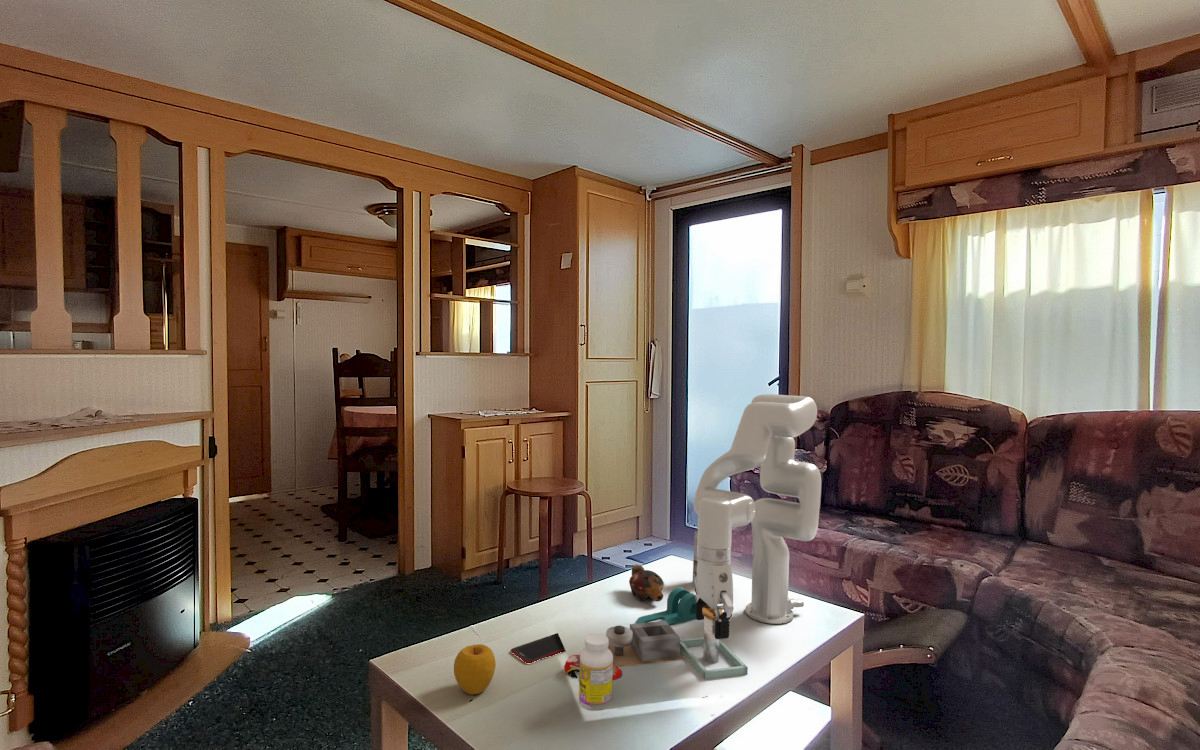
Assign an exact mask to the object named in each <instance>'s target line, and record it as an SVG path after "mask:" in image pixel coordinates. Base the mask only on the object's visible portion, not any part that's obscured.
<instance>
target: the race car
mask: <svg viewBox="0 0 1200 750" xmlns="http://www.w3.org/2000/svg"><path fill="white" fill-rule="evenodd" d="M563 670H564V673H565V674H566V675H567V676H570V677H571V678H574V679H579V678H578V676H577V673H580V654H573V655H570V656H569V657H568V658H567V659H566V660H565V664H564V666H563ZM576 672H577V673H576ZM623 673H624V672H623V671H622V668H620V667H616V666H614V665H613V679H612V681H616V680H618V679H621V678H622V677H623V675H624V674H623Z"/></svg>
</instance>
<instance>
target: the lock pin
mask: <svg viewBox="0 0 1200 750" xmlns="http://www.w3.org/2000/svg"><path fill="white" fill-rule="evenodd" d="M719 612H720V615H721V614H722V613H723V610H719ZM702 614H703V615H704V620H703V637H704V641H703V645H702V647H703V649H702V651H703V652H702V659H703V660H702V661H703V662H705V663H707V664H712V665H713V664H717V663H719V662H720V649H719V639H716V638H715V620H717V618H716V614H715V610H714V609H712V608H711V607H710V606H709V605H705V606H703V608H702Z"/></svg>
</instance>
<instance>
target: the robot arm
mask: <svg viewBox="0 0 1200 750" xmlns="http://www.w3.org/2000/svg"><path fill="white" fill-rule="evenodd" d="M817 417H818V407H817V404H816V402H815V400H814V399H813V398H811V397H809V396H804V395H789V394H787V395H786V394H773V393H767V394H758V395H756V396H754V397H753V398H752V400H751V403H749V404H747V406H746V407H745V408H744V410H743V412H742V416H741V418H740V421H739V424H738V426H737V430H736V432H735V435H734V438H733V441H732V445H730V446H731V447H730V449H729V450H728V451H726V452H724V453H723V454H722V455H720V456H719V457H718V458H716V459H715V460H714V461H713V462H712V463H711V464H710V465H708V467H707V468H706V469H705V470H704V471H703V473H702V475H701V477H700V480H699V483H698V486H697V489H696V492H695V496H694V499H693V509H694V512H695V514H696V516H697V531H698V540H697V559H698V563H697V574H696V578H695V579H694V581H695V583H694V586H695V589H694V592H695V595H696V597H695V599H696V619H695V620H697V621H704V615H703V614H702V608H703V606H705V605H709V606H710V607H711V608H712V609H714V610H715V614H716V618H717V620H715V638H716V639H720V640H724V639H728V638H729V637H730V622H731V619H732V618H733V617H732V616H733V612H734V581H733V580H734V579H733V578H734V577H733V571H732V570H733V569H732V564H731V562H732V543H733V542H732V537H733V536H732V533H733V528H739V527H745V526H747V525H749V524H750V523H751V531H752V545H753V546H752V575H751V601H750V602H749V603H747V604H746V605H745V607H744V608H745V610H744V611H745V614H746V615H747V616H748V617H749V618H751V619H753V620H755V621H758V622H760V623H766V624H770V625H771V624H772V625H775V624H776V625H778V624H779V625H781V624H782V623H783V624H787V623H790V622H792V621H793V619H794V612H793V609H794V608H802V607H804V605H805V603H804V601H803V599H800V598H799V599H795V598H794V597H792V596H791V597H790V596H789V575H790V574H789V573H790V550H789V547H788V545H787V543H786V541H785V539H792V540H797V541H800V542H801V541H802V542H809V541H812V540H813V539H814V538H815V537H816V536H817V534H818V533H817V532H818V529H819V520H820V508H821V506H820V505H821V497H822V496H821V495H822V474H821V471H820V469H819V467H817V465H816V464H813V463H810V462H804V461H796V460H795V453H796V441H795V439H794V438H796V437H799V436H801V435H802V434H803V433H805V432H806V431H808V430H810V429H811V428H812V427H813V426H814V424H815V423H816V420H817ZM759 467H760V474H759V483H760V487H761V489H762V490H763V491H765V492H766V493H769V494H770V493H771V494H774V495H780V496H784V497H785V496H787V497H791V498H792V497H793V498H797V499H798V500H799V502H794V501H788V500H784V499H783V500H782V499H777V498H771V497H770V498H769V497H764V498H763V497H762V498H759V499H756V500H755V501H754V499H753V498H752V497H751V496H750V495H748V494H745V493H741V492H736V491H730V490H724V489H717V488H718V487H719V485H720V484H721V483H722V482H723V481H724V480H726V479H727V478H728V477H731V476H734V475H736V474H740V473H744V472H747V471H750V470H753V469H757V468H759ZM784 538H785V539H784ZM719 610H722V614H721V615H720V612H719Z"/></svg>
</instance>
